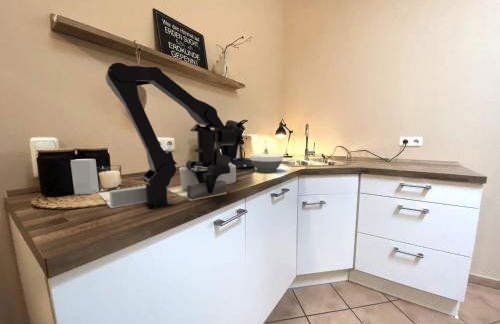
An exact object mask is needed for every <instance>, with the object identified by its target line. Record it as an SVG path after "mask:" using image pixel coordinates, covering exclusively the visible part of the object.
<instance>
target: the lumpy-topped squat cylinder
mask: <svg viewBox="0 0 500 324" xmlns="http://www.w3.org/2000/svg"><path fill="white" fill-rule="evenodd" d="M229 166H230V173H227V174H222V175H220V176H219V177H218V178H217V180H216V181H219V180H222V181H226V185H231V184H233V183H236V182H237V166H236V165H235V164H233V163H232V162H229Z"/></svg>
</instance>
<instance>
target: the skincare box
mask: <svg viewBox="0 0 500 324" xmlns="http://www.w3.org/2000/svg"><path fill="white" fill-rule="evenodd" d="M70 161H71V162H70V168H71V177H72V184H73V185H72V186H73V192H74V193H73V194H74V195H75V196H76V195H77V196H78V195H79V194H80V195H94V194H97V193H99V192H98V191H100V187H99V180H98V169H97V162H96V159H95V158H82V159H81V158H80V159H79V158H77V159H70ZM96 192H97V193H96ZM93 193H94V194H93Z"/></svg>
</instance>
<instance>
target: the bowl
mask: <svg viewBox="0 0 500 324" xmlns="http://www.w3.org/2000/svg"><path fill="white" fill-rule="evenodd" d="M249 159H250V161H251V163H252V165H253V167H254V168H256V171H257V172H259V173H265V174H266V173H275V172H276V171H277V169H279V168H280V165H281V164H282V162H283V160H284V155H283V154H279V153H253V154H249Z"/></svg>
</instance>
